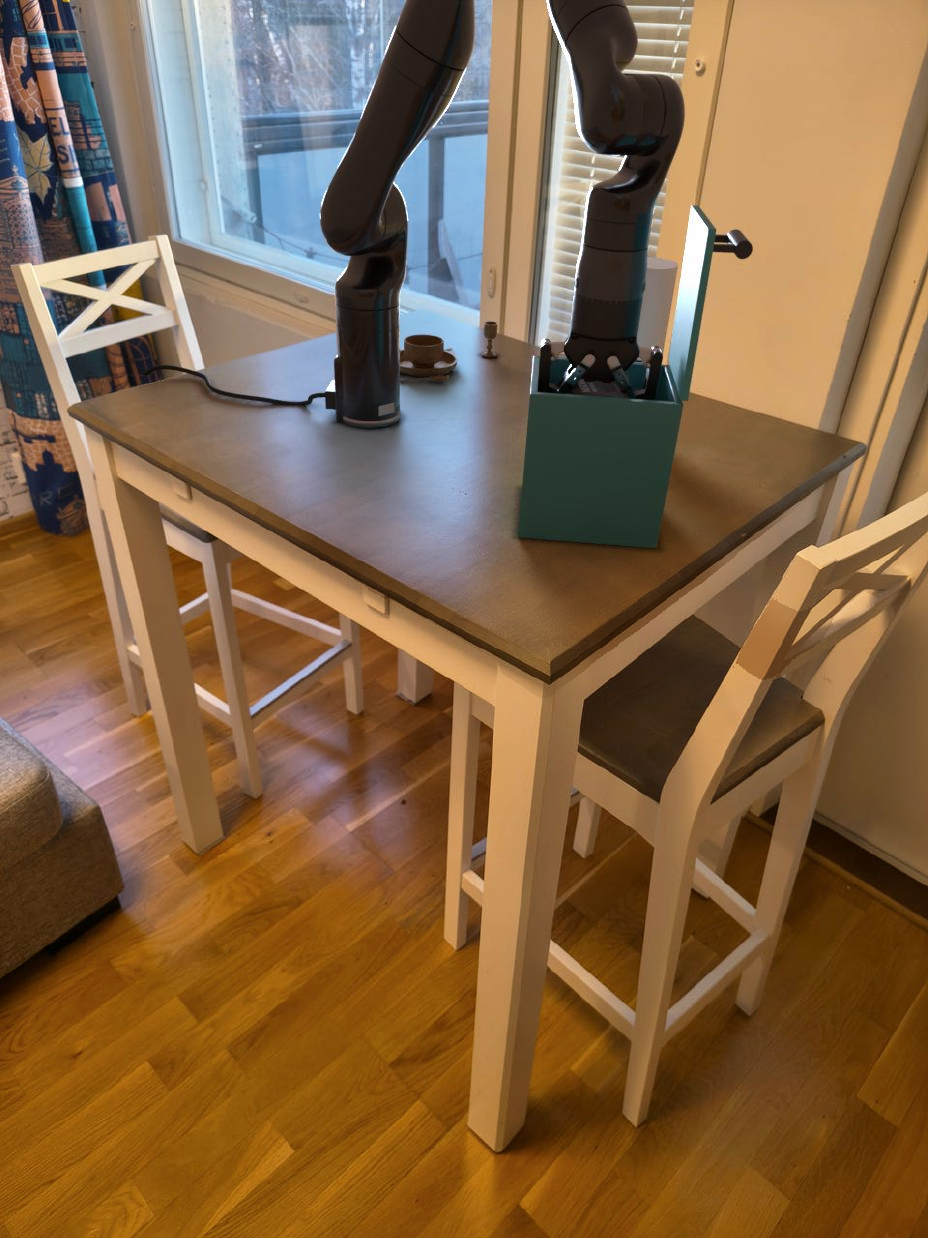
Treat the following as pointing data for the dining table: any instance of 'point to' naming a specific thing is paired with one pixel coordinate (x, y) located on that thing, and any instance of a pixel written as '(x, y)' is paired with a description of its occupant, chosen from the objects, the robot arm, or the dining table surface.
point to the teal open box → (598, 462)
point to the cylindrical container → (656, 303)
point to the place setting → (435, 355)
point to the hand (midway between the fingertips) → (590, 432)
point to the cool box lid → (697, 291)
